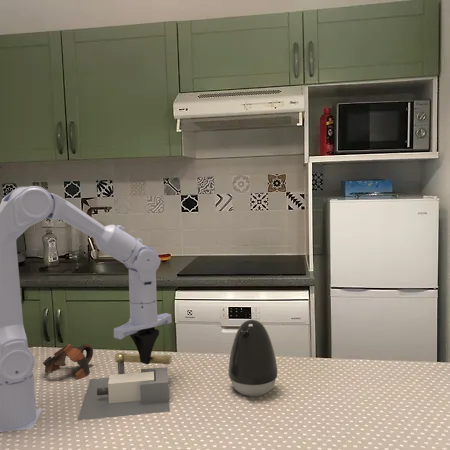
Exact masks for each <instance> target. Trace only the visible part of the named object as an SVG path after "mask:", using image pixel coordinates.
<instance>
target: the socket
mask: <svg viewBox="0 0 450 450" xmlns="http://www.w3.org/2000/svg"><path fill="white" fill-rule="evenodd" d="M152 371H154V381H149V382H140V391H141V401H130V402H119V403H109V395H98V396H97V388H106V387H108V382H109V377H99V378H90V379H89V381H88V385H87V388H86V391H85V394H84V398H83V400H82V404H81V407H80V411H79V414H78V417H77V421H83V420H84V421H86V420H95V419H104V418H106V419H107V418H114V417H115V418H116V417H126V416H136V415H137V416H138V415H148V414H156V413H167V412H171V410H170V408H171V406H170V389H169V383H170V382H169V373H168V372H169V371H168V367H167V366H165V367H152V368H141V369H140V372H152ZM125 372H126V371H125V362H121V363H117V374H126V373H125Z"/></svg>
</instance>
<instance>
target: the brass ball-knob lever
mask: <svg viewBox="0 0 450 450" xmlns="http://www.w3.org/2000/svg"><path fill="white" fill-rule="evenodd" d="M172 357H173V356H172V355H170V354H169V355H167V354H165V355H160V354H159V355H157V354H151V357H150V363H149V364H162V365H171V363H172V362H173V360H172V359H173V358H172ZM114 360H115V361H114V362H115V363H117V364H118V363H121V362H124V363H140V364H141V361H140V356H139V353H138V354H136V353H135V354H134V353H126V352H116V353H115V354H114Z"/></svg>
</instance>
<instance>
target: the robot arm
mask: <svg viewBox="0 0 450 450" xmlns="http://www.w3.org/2000/svg"><path fill="white" fill-rule="evenodd" d="M45 219H48V220H56V221H58V220H59V221H62V222H64V223H66V224H67V225H69V226H71V227H73V228H75V229H76V230H79V231H80V232H82V233H84V234H86V235H87V236H88V237H91V238H92V239H94V241H95V244H96V247H97V249H98V250H99V251H101V252H104V253H105V254H107V255H108V256H110V257H111V258H113V259H115V260H117V261H118V262H120V263H122V264H123V265H124V266H125V267H126V268H127V269H128V289H129V290H128V291H129V294H128V295H129V319H128V321H127V322H126V323H124V324H122V325H120V326H117V327H114V328H113V338H114V339H117V340H122V339H125V337H128V336H130V338H131V339H132V341H133V343H134V345H135V347H136V349H137V352H138V354H139V356H140V361H141V363H142V364H144V365H149V364H151V363H150V357H151V355H152V353H153V349H154V346H155V343H156V341H157V339H158V337H159V335H160V330H159V329H156V328H155V327H159V326H161V325H165V324H167V325H169V324H172V314H171V313H167V312H164V313H160V314H158V304H157V301H158V297H157V295H158V294H157V270H158V269H159V267H160V265H161V261H162V260H161V258H160V257H159V253H158V252H157V250H156V249H155V248H154V247H152V246H148V245H144V244H143V239H141V238H140V237H137V238H135V237H133V236H132V235H131V234H129V233H128V232H126V231H125V228H126V227H124V226H122V225H120V224H117V225H115V224H109V225H103V224H102V223H100V222H99V221H97V220H96V219H94V217H91V215H88V213H85V212H84V211H83V210H81V209H79V208H78V207H77V206H75V205H74V204H73V203H72V202H69V201H68V200H66V199H64V198H63V197H61V196H60V195H57V194H56V193H52V192H49V191H48V190H46V189H45V188H44V187H41V186H38V185H31V186H30V185H29V186H19V187H16V188H15V189H13V190H12V191H10V192H9V193H7V195H5V196H4V197H3V198H1V202H0V433H1V432H14V431H24V430H31V429H33V428H34V426H35V424H36V423H37V421H38V418H39V416H40V415H41V413H42V411H43V408H42V407H41V408H40V407H39V408H36V392H35V391H36V390H35V389H36V388H35V376H34V375H35V374H34V369H35V356H34V354H33V352H32V351H31V350H30V348H29V345H28V338H27V334H26V331H25V326H24V317H23V305H22V294H21V283H20V272H19V259H18V249H17V247H18V246H17V239H18V238H19V237H20V236H21V235H23V234H24V233H25V231H27V230H28V229H29V228H30V227H32V226H34V225H35V224H38V223H40V222H41V221H44V220H45ZM141 363H140V364H141Z"/></svg>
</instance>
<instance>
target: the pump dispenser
mask: <svg viewBox="0 0 450 450" xmlns="http://www.w3.org/2000/svg"><path fill="white" fill-rule="evenodd" d="M277 365H278V364H277V358H276V355H275V350H274V346H273V343H272V340H271V338H270V335H269V333H268V330H267V329H266V328H265V326H264V324H262V322H260V321H259V320H255V319H248V320H245V321H244V322H242V323H241V325H240V326H239V328H238V330H237V331H236V334H235V336H234V339H233V342H232V346H231V349H230V355H229V363H228V368H227V369H228V374H227V375H228V378H229V379H230V383H231V385H232V387H233V388H234V389H235V390H236V392H238V393H239V394H241V395H244V396H247V397H250V398H251V397H253V398H255V397H261V396H263V395H265V394H267V393H269V392H270V391H271V390H272V389H273V387H274V385H275V383H276V379H277V378H278V366H277Z"/></svg>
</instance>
